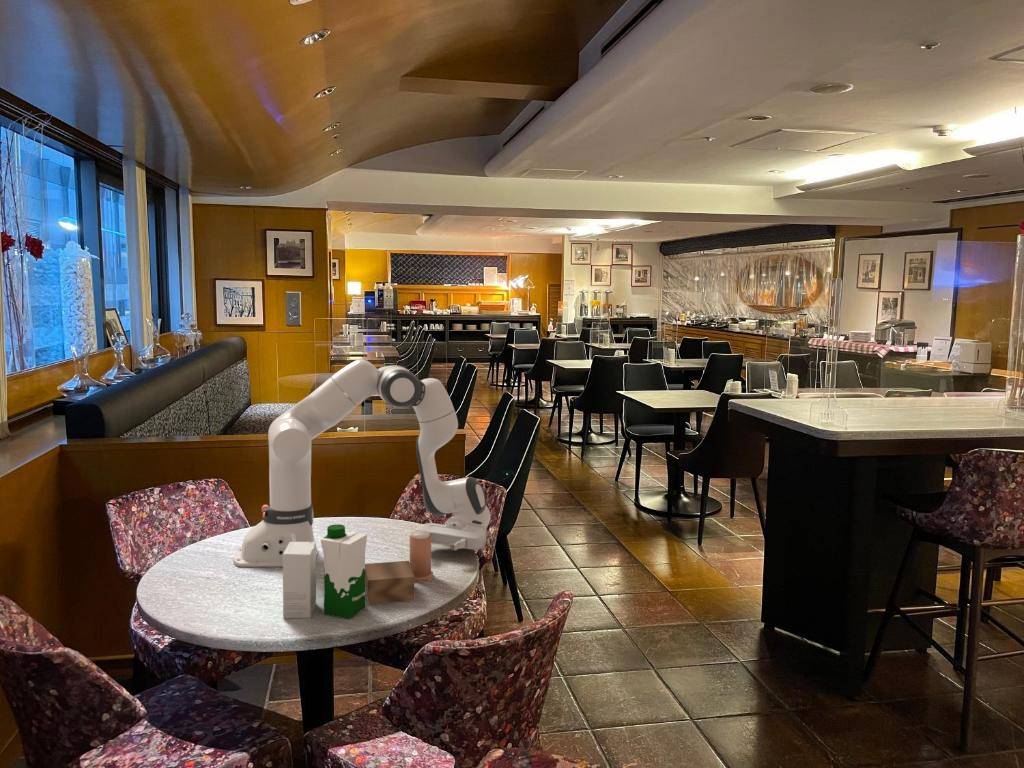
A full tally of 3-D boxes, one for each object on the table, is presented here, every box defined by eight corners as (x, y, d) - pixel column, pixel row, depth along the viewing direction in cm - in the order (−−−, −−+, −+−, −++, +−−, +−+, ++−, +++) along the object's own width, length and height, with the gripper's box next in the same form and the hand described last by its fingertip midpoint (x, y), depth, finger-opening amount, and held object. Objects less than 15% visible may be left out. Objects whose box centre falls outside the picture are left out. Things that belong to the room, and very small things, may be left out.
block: (368, 604, 178) (368, 580, 178) (365, 586, 189) (364, 563, 188) (414, 600, 181) (414, 576, 180) (408, 583, 192) (408, 560, 191)
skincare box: (290, 604, 178) (288, 541, 176) (318, 603, 178) (317, 540, 176) (282, 619, 169) (280, 553, 167) (312, 619, 170) (310, 553, 168)
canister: (409, 582, 192) (409, 538, 190) (406, 573, 198) (406, 530, 197) (434, 580, 194) (435, 536, 192) (430, 571, 200) (431, 528, 198)
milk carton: (339, 600, 180) (338, 520, 178) (371, 606, 177) (371, 525, 175) (317, 615, 172) (316, 531, 169) (351, 621, 169) (350, 536, 166)
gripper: (427, 515, 221) (404, 528, 208) (491, 524, 214) (471, 538, 201) (427, 535, 222) (404, 550, 209) (490, 545, 214) (471, 561, 202)
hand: (437, 544), depth 205 cm, fingers open, 8 cm apart
